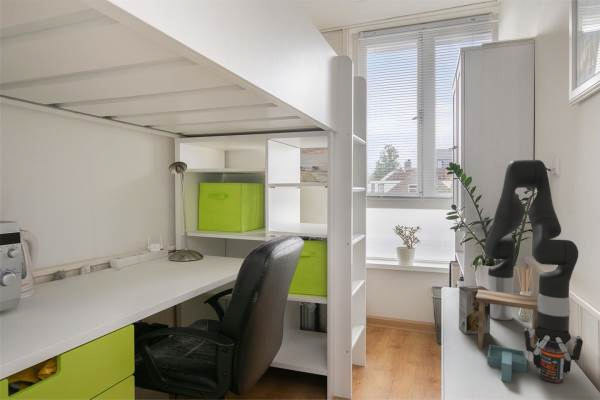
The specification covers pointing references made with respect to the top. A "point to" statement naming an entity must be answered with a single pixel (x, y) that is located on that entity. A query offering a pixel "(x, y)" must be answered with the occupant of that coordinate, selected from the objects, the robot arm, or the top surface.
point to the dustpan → (507, 360)
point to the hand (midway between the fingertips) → (551, 369)
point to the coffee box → (472, 310)
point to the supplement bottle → (551, 362)
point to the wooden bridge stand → (505, 300)
